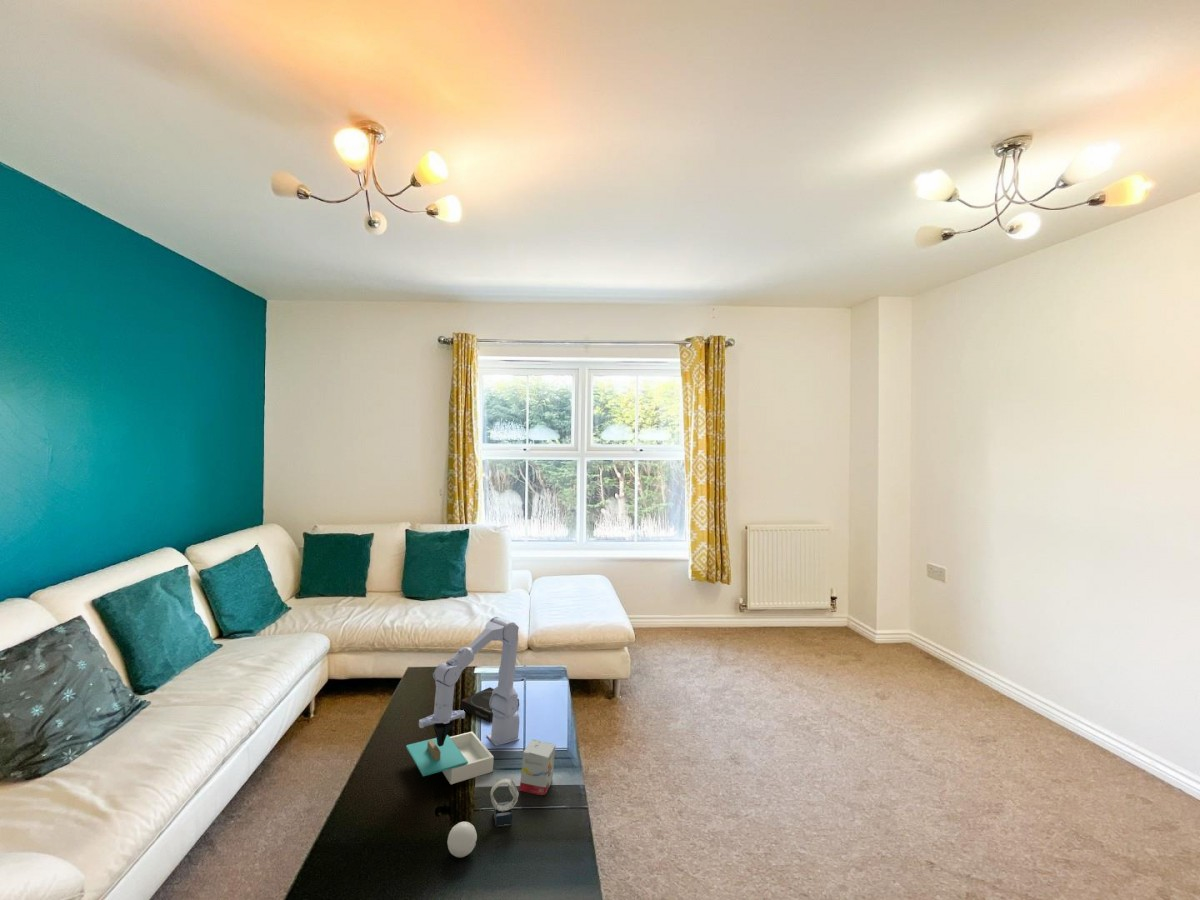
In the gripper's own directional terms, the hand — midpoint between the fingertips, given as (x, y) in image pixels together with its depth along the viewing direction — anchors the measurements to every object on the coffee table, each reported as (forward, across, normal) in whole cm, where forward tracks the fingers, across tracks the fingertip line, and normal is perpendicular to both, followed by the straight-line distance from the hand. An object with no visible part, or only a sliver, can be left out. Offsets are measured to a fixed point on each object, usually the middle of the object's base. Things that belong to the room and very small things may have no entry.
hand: (440, 744), depth 166 cm
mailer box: (+8, +8, 0) cm, 11 cm away
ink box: (+8, +24, -22) cm, 34 cm away
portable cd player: (+9, +32, +31) cm, 45 cm away
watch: (+8, +8, -31) cm, 33 cm away
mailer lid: (+3, -1, 0) cm, 3 cm away
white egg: (+8, -6, -36) cm, 37 cm away
